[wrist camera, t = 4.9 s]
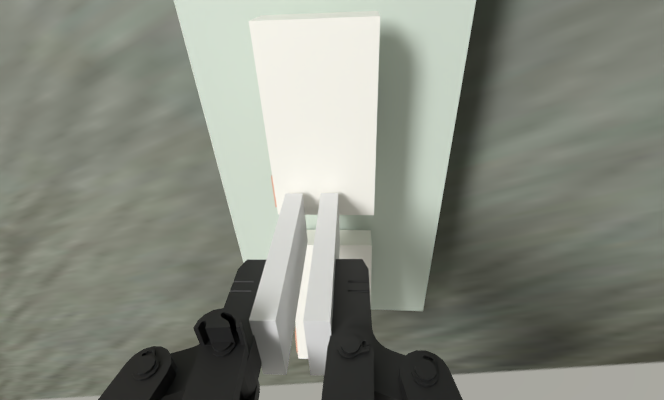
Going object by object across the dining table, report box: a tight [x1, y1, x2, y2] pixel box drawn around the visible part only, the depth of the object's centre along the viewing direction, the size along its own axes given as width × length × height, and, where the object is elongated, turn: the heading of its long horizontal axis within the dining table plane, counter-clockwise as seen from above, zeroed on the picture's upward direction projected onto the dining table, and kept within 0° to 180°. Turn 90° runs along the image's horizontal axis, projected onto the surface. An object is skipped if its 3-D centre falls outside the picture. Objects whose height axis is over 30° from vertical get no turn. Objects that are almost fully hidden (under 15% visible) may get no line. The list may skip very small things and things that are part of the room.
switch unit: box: [174, 0, 476, 311], centre depth 18 cm, size 30×12×5 cm, turn 2°
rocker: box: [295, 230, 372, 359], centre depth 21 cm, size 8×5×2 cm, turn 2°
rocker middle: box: [249, 11, 380, 215], centre depth 15 cm, size 8×4×2 cm, turn 2°
